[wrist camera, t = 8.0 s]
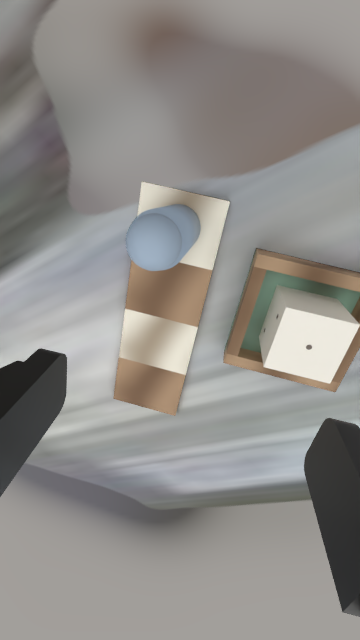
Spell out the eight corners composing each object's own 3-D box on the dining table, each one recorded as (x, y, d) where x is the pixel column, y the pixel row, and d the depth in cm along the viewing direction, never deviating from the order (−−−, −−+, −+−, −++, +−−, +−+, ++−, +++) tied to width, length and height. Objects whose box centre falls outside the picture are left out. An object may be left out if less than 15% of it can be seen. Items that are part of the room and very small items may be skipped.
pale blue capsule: (205, 211, 23) (188, 222, 15) (193, 255, 25) (171, 289, 16) (162, 198, 24) (119, 202, 15) (152, 243, 25) (108, 270, 17)
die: (337, 299, 25) (360, 325, 20) (314, 350, 27) (330, 384, 22) (276, 284, 25) (285, 307, 20) (258, 336, 27) (262, 367, 23)
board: (230, 201, 23) (229, 201, 23) (176, 411, 33) (175, 415, 32) (143, 181, 24) (141, 181, 23) (115, 395, 33) (113, 398, 33)
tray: (380, 277, 24) (393, 285, 22) (328, 377, 28) (335, 392, 26) (256, 248, 25) (258, 253, 23) (224, 350, 29) (223, 362, 27)
